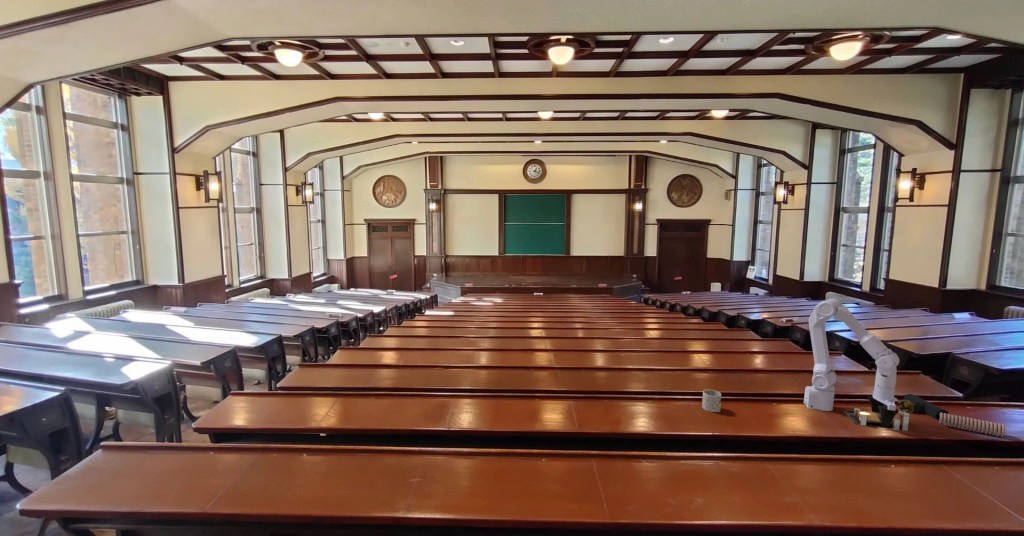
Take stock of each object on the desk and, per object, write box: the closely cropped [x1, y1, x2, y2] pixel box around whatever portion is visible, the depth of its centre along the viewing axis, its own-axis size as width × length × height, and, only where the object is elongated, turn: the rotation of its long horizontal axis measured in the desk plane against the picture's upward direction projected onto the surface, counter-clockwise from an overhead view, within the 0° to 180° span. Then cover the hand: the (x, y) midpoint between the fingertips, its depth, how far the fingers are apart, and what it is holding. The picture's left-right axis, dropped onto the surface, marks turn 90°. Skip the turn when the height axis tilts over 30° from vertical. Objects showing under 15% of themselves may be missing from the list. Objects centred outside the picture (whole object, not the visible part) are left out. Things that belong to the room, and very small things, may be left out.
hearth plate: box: [843, 408, 909, 432], centre depth 174 cm, size 16×12×2 cm
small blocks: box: [853, 407, 900, 431], centre depth 171 cm, size 12×7×4 cm, turn 72°
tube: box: [857, 409, 903, 427], centre depth 170 cm, size 14×4×4 cm, turn 72°
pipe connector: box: [896, 393, 950, 422], centre depth 182 cm, size 12×5×15 cm
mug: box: [701, 389, 722, 413], centre depth 186 cm, size 10×7×7 cm, turn 179°
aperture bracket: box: [898, 409, 910, 432], centre depth 167 cm, size 2×4×6 cm, turn 162°
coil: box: [938, 412, 1006, 438], centre depth 168 cm, size 5×5×18 cm
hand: (880, 421), depth 171 cm, fingers open, 7 cm apart
